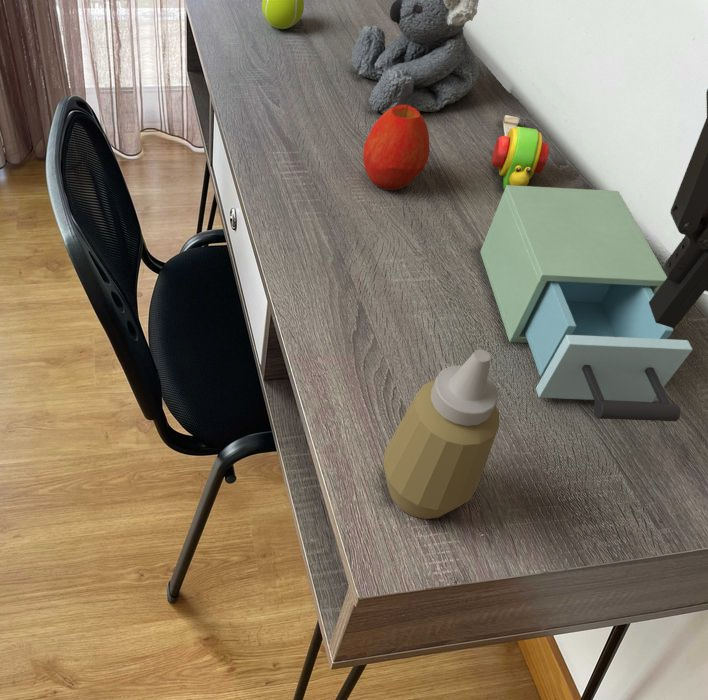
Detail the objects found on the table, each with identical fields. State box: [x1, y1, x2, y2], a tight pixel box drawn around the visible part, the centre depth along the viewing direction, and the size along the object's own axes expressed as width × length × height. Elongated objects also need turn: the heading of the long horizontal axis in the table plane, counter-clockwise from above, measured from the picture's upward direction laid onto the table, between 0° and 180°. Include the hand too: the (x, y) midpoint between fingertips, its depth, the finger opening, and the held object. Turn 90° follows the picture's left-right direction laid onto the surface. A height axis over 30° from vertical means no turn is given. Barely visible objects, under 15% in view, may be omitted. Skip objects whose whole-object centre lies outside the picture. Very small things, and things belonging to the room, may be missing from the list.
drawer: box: [523, 281, 693, 423], centre depth 72 cm, size 19×11×8 cm, turn 0°
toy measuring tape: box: [491, 114, 550, 191], centre depth 99 cm, size 6×20×7 cm, turn 167°
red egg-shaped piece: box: [362, 105, 430, 191], centre depth 92 cm, size 8×8×11 cm
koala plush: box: [351, 0, 480, 115], centre depth 106 cm, size 17×18×20 cm
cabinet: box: [479, 185, 667, 344], centre depth 79 cm, size 15×13×10 cm
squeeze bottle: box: [382, 348, 500, 520], centre depth 58 cm, size 8×8×18 cm
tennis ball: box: [261, 0, 305, 30], centre depth 122 cm, size 7×7×7 cm
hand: (661, 315), depth 57 cm, fingers closed
